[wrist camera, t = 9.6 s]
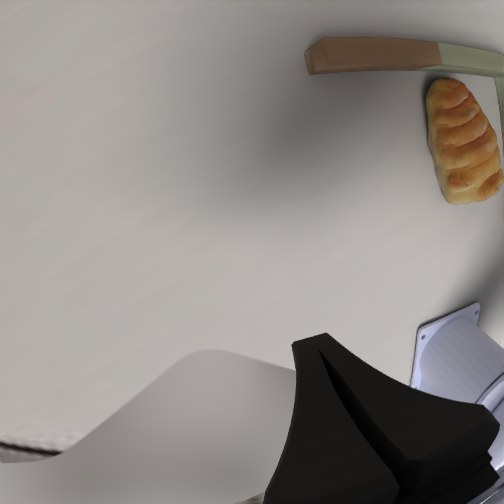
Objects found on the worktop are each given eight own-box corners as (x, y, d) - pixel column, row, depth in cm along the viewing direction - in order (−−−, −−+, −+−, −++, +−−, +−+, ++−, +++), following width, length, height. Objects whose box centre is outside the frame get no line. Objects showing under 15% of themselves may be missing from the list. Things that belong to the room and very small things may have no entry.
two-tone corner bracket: (512, 214, 23) (537, 225, 20) (340, 266, 22) (360, 288, 19) (500, 63, 18) (527, 61, 14) (304, 53, 17) (323, 37, 13)
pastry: (399, 94, 18) (432, 89, 15) (455, 69, 18) (488, 65, 14) (440, 207, 22) (472, 220, 18) (488, 172, 21) (520, 180, 18)
